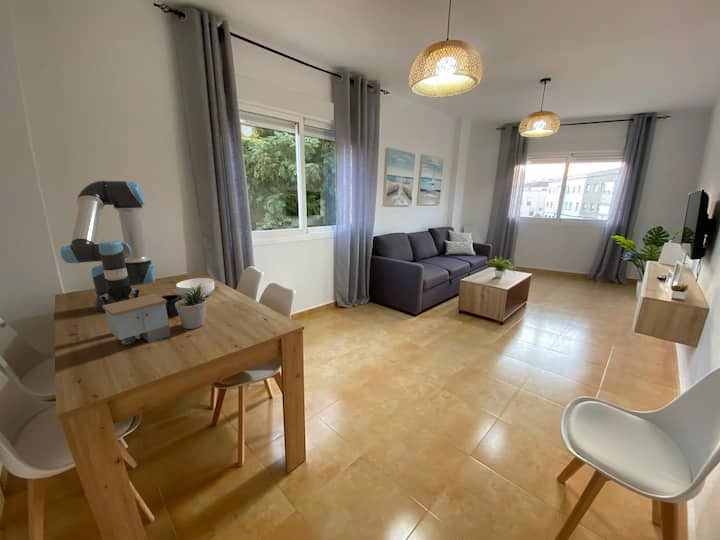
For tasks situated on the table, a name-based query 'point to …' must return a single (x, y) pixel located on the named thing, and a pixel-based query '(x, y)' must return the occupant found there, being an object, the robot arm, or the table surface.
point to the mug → (171, 305)
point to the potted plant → (192, 309)
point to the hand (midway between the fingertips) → (127, 328)
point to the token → (128, 341)
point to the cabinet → (139, 318)
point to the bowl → (195, 286)
